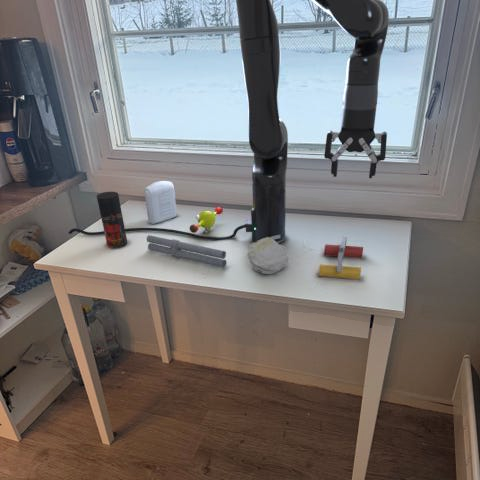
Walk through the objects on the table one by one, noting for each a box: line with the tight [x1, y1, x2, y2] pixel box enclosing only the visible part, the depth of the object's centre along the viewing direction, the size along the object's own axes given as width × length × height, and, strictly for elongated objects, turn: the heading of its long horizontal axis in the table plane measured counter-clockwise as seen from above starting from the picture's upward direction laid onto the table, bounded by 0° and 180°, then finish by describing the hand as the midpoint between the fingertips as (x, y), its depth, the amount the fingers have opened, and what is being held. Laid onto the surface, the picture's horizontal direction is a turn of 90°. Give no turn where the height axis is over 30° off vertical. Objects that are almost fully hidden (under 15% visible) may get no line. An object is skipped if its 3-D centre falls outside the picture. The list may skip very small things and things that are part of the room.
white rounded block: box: [143, 180, 178, 225], centre depth 152 cm, size 10×4×12 cm, turn 134°
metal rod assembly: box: [146, 234, 227, 268], centre depth 128 cm, size 26×3×5 cm, turn 60°
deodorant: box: [96, 191, 128, 249], centre depth 135 cm, size 6×6×15 cm
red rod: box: [323, 243, 364, 259], centre depth 126 cm, size 10×3×3 cm, turn 75°
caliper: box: [336, 236, 348, 272], centre depth 118 cm, size 20×1×6 cm, turn 165°
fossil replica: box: [247, 237, 290, 275], centre depth 120 cm, size 12×8×10 cm
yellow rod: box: [318, 263, 362, 281], centre depth 116 cm, size 10×3×3 cm, turn 75°
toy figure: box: [189, 206, 224, 234], centre depth 142 cm, size 18×6×7 cm, turn 154°
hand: (352, 176), depth 115 cm, fingers open, 8 cm apart
